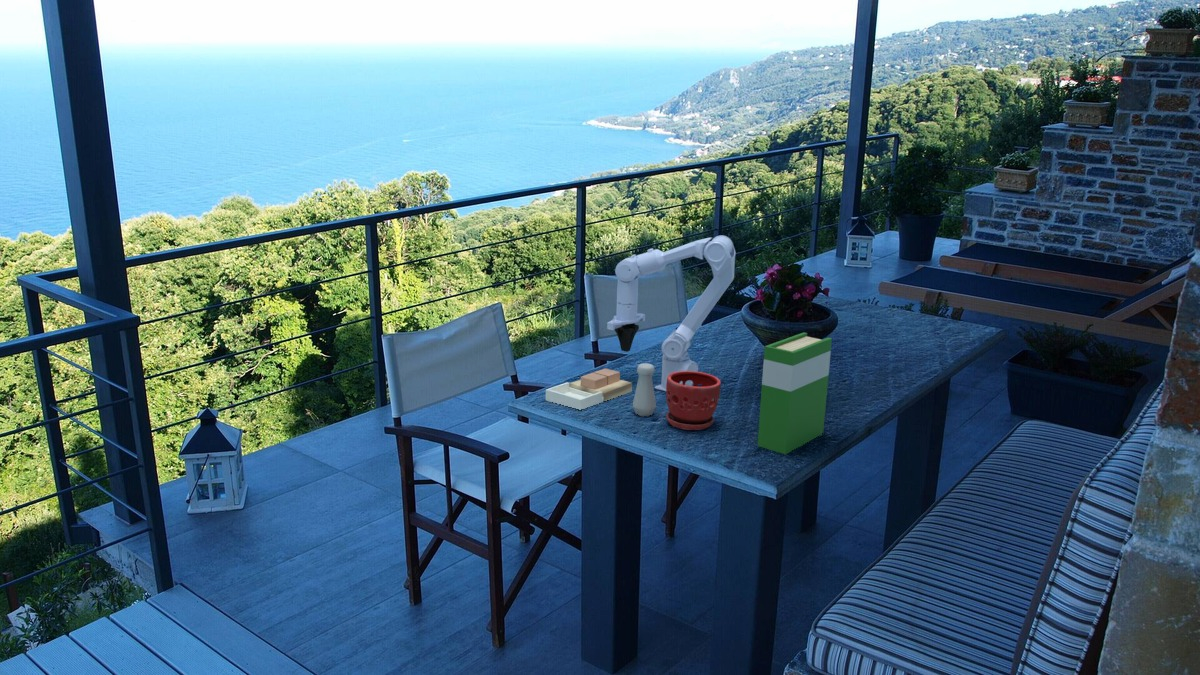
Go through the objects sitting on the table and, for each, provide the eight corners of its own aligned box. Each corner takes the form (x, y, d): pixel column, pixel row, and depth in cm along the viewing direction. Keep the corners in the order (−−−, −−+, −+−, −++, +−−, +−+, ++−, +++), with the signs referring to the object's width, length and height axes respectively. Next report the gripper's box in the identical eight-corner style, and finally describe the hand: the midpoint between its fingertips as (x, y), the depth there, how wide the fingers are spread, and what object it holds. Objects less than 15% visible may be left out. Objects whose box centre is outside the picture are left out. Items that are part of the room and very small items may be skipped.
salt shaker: (639, 419, 233) (641, 369, 230) (628, 412, 238) (630, 362, 235) (659, 415, 236) (661, 366, 232) (648, 408, 241) (650, 360, 237)
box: (603, 402, 245) (603, 391, 244) (580, 411, 238) (580, 399, 237) (568, 392, 252) (568, 381, 251) (545, 400, 245) (545, 389, 244)
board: (631, 391, 254) (632, 382, 253) (603, 402, 245) (604, 393, 244) (597, 382, 261) (597, 373, 260) (569, 392, 252) (569, 383, 251)
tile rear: (619, 380, 254) (619, 372, 254) (608, 385, 251) (608, 376, 250) (605, 377, 257) (605, 368, 257) (593, 381, 254) (593, 372, 253)
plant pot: (680, 436, 222) (683, 388, 219) (655, 418, 234) (657, 372, 231) (728, 430, 227) (731, 383, 224) (701, 412, 239) (703, 367, 236)
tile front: (606, 385, 250) (607, 376, 250) (595, 389, 247) (595, 380, 246) (592, 381, 253) (592, 372, 253) (580, 385, 250) (580, 376, 249)
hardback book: (795, 426, 231) (803, 332, 224) (823, 434, 226) (832, 338, 220) (757, 445, 218) (764, 346, 211) (785, 454, 213) (793, 352, 207)
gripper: (631, 295, 263) (630, 342, 266) (598, 304, 252) (597, 353, 255) (652, 300, 258) (650, 347, 262) (619, 308, 247) (618, 358, 251)
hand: (625, 350), depth 258 cm, fingers closed
